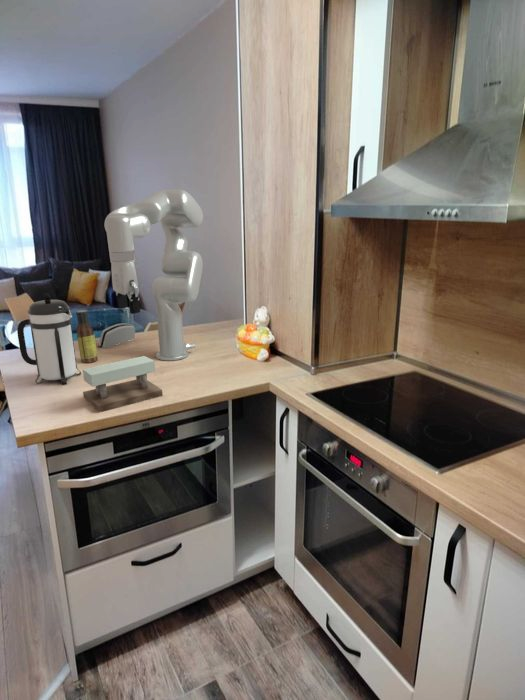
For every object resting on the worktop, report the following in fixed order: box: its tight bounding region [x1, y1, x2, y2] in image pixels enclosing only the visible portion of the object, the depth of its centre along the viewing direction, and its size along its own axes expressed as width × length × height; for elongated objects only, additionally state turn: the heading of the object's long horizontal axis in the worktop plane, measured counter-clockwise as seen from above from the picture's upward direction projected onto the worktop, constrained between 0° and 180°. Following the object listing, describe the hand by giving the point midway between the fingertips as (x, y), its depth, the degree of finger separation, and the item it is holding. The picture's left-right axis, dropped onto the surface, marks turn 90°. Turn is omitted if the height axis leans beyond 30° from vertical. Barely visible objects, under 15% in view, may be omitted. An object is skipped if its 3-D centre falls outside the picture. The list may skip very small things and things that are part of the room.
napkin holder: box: [96, 323, 136, 349], centre depth 203 cm, size 17×5×10 cm, turn 145°
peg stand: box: [82, 373, 163, 413], centre depth 145 cm, size 20×14×7 cm
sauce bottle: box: [75, 309, 99, 364], centre depth 178 cm, size 6×6×20 cm
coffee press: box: [16, 292, 82, 386], centre depth 157 cm, size 17×16×30 cm
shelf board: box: [82, 355, 156, 387], centre depth 143 cm, size 20×7×4 cm, turn 130°
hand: (129, 310), depth 151 cm, fingers open, 9 cm apart
